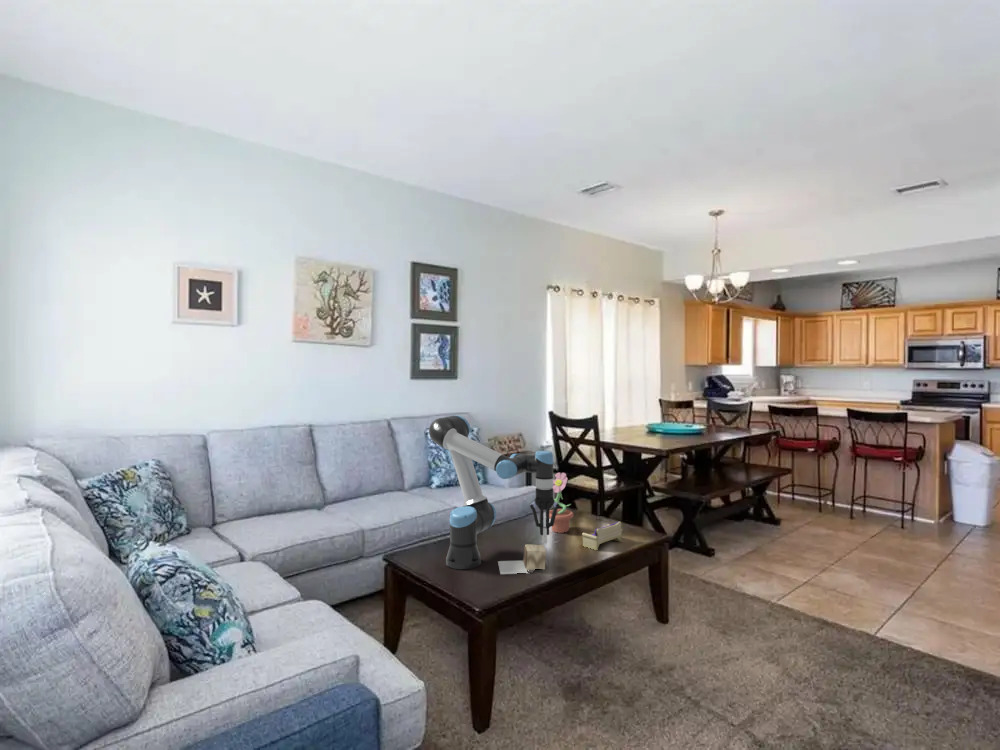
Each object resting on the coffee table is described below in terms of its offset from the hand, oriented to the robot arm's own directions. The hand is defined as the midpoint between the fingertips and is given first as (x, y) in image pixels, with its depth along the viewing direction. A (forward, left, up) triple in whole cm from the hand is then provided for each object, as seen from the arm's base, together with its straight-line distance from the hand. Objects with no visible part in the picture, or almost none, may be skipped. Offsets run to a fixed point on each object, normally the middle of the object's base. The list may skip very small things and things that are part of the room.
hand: (544, 542), depth 239 cm
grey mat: (-12, 0, -10) cm, 16 cm away
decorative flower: (+16, +48, -11) cm, 52 cm away
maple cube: (0, 0, -6) cm, 6 cm away
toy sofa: (+32, +26, -11) cm, 43 cm away
